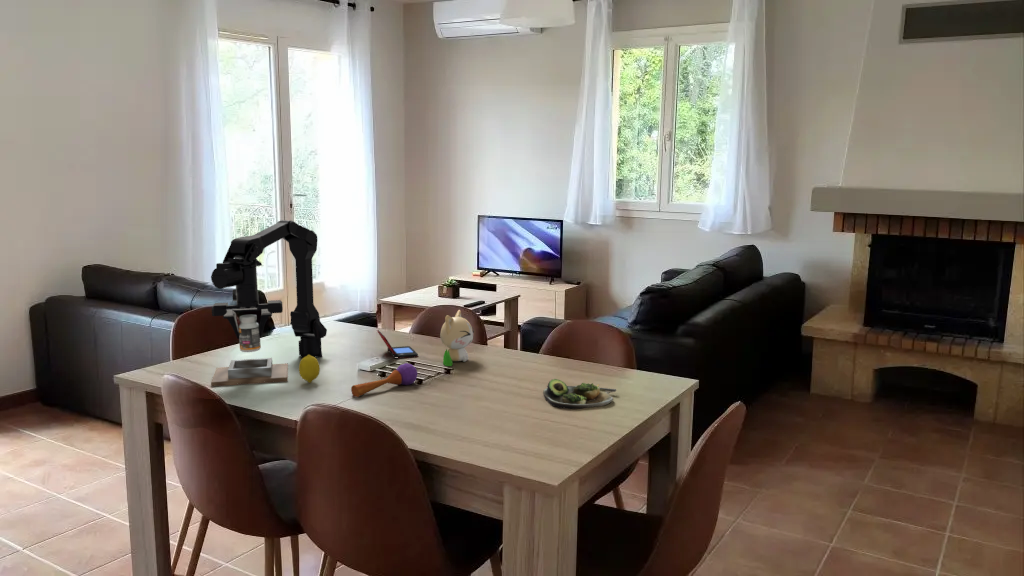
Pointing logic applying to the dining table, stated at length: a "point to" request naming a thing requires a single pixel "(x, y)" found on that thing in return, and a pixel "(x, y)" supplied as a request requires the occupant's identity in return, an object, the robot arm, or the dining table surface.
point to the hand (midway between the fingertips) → (249, 337)
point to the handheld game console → (399, 349)
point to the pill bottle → (249, 333)
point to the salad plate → (576, 395)
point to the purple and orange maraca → (388, 380)
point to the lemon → (309, 368)
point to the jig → (250, 372)
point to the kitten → (456, 338)
